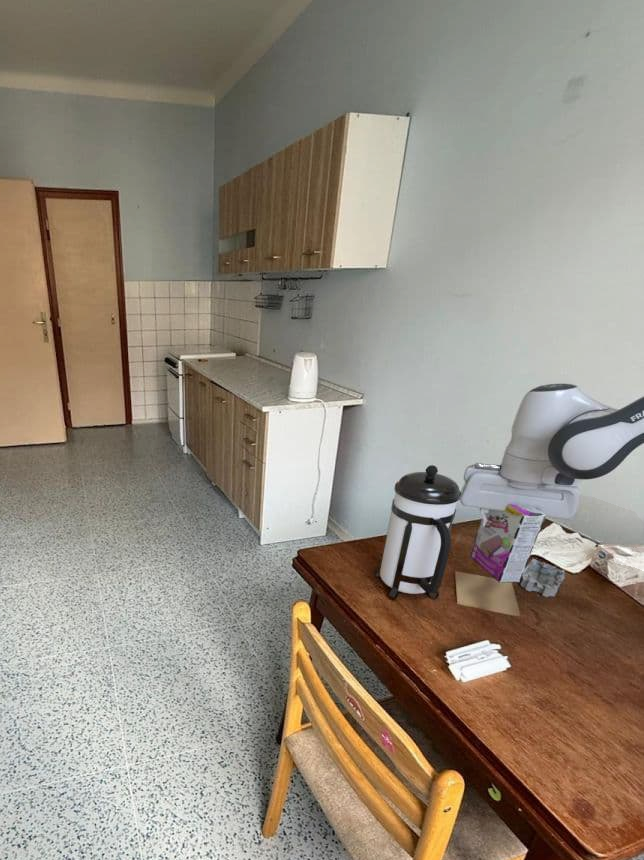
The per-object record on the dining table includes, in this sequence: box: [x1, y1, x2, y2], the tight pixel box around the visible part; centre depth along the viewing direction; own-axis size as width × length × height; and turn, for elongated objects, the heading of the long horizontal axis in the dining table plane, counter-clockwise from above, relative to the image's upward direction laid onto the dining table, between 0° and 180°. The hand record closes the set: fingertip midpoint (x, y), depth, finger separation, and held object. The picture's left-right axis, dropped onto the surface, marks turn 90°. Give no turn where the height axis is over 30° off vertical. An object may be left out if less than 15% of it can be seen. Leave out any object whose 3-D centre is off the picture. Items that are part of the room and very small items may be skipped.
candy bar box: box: [469, 504, 546, 583], centre depth 101 cm, size 11×5×16 cm, turn 4°
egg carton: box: [520, 558, 566, 598], centre depth 110 cm, size 11×8×4 cm
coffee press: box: [373, 465, 461, 601], centre depth 103 cm, size 17×16×30 cm
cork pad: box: [454, 570, 521, 618], centre depth 108 cm, size 12×14×1 cm
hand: (506, 529), depth 100 cm, fingers closed on candy bar box, 6 cm apart
